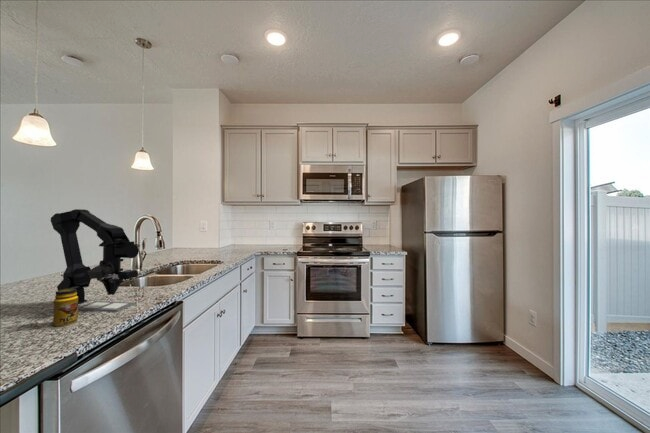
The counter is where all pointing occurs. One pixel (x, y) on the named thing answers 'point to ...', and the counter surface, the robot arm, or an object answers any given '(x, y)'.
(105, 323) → the counter surface
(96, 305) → the mat
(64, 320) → the condiment
